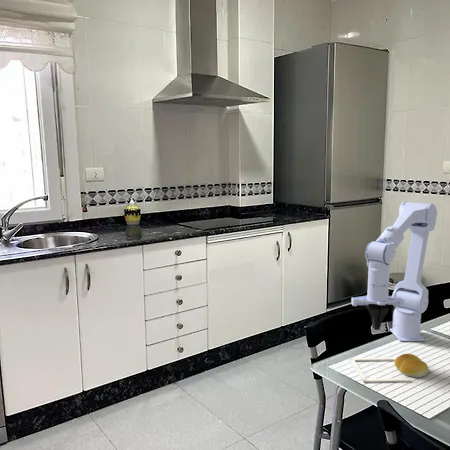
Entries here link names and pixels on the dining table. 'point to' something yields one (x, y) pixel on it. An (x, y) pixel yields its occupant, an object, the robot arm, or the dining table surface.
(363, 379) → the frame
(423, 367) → the bread roll
